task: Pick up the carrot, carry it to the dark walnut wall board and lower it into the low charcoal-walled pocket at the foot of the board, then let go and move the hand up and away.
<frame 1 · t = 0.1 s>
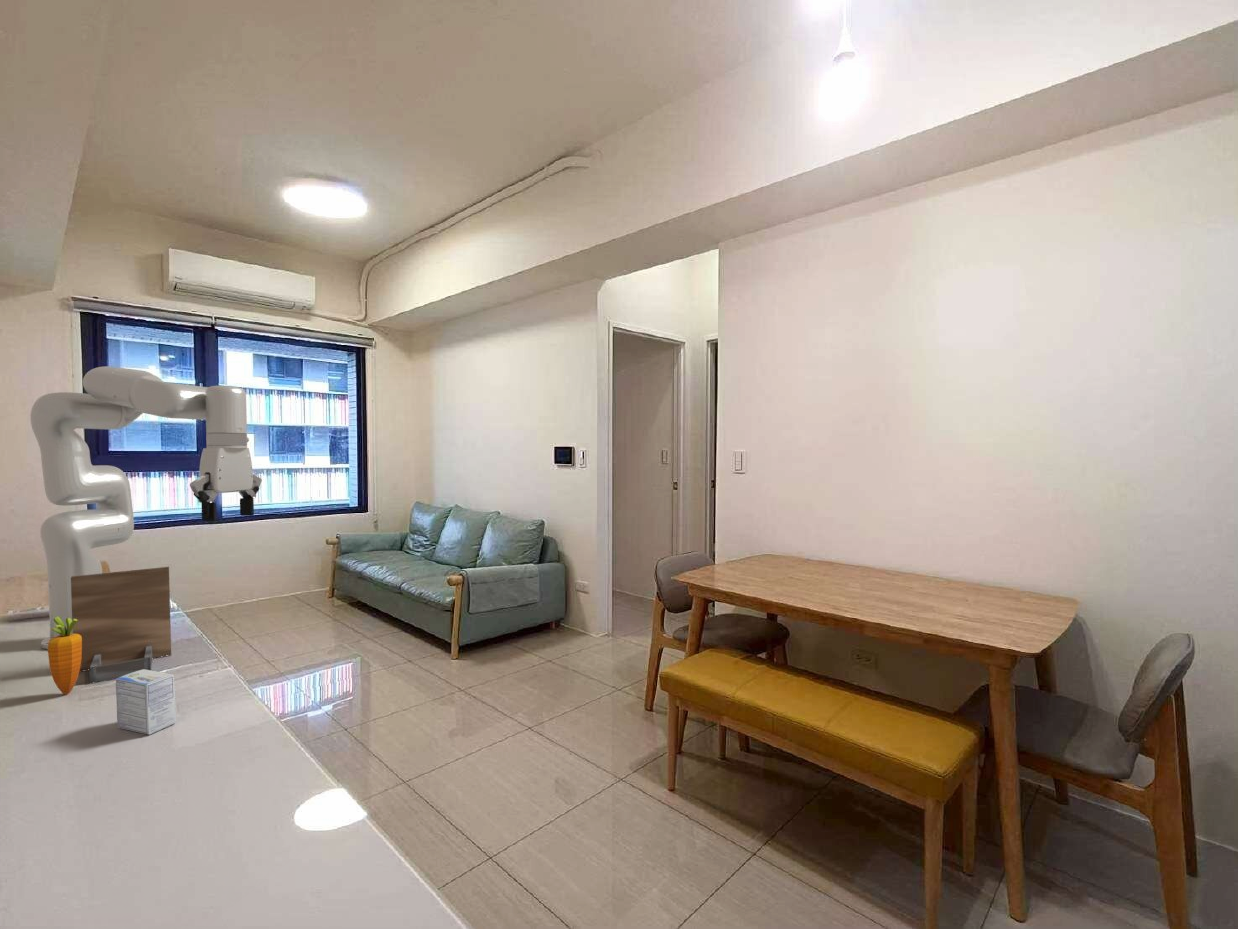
hand: (228, 518, 128), 31 cm above the kitchen counter, tool pointing down, fingers open, 9 cm apart
wall holder: (122, 670, 120), on the kitchen counter
medicine box: (146, 727, 96), on the kitchen counter
stone cup: (96, 615, 161), on the kitchen counter
carrot: (66, 695, 109), on the kitchen counter
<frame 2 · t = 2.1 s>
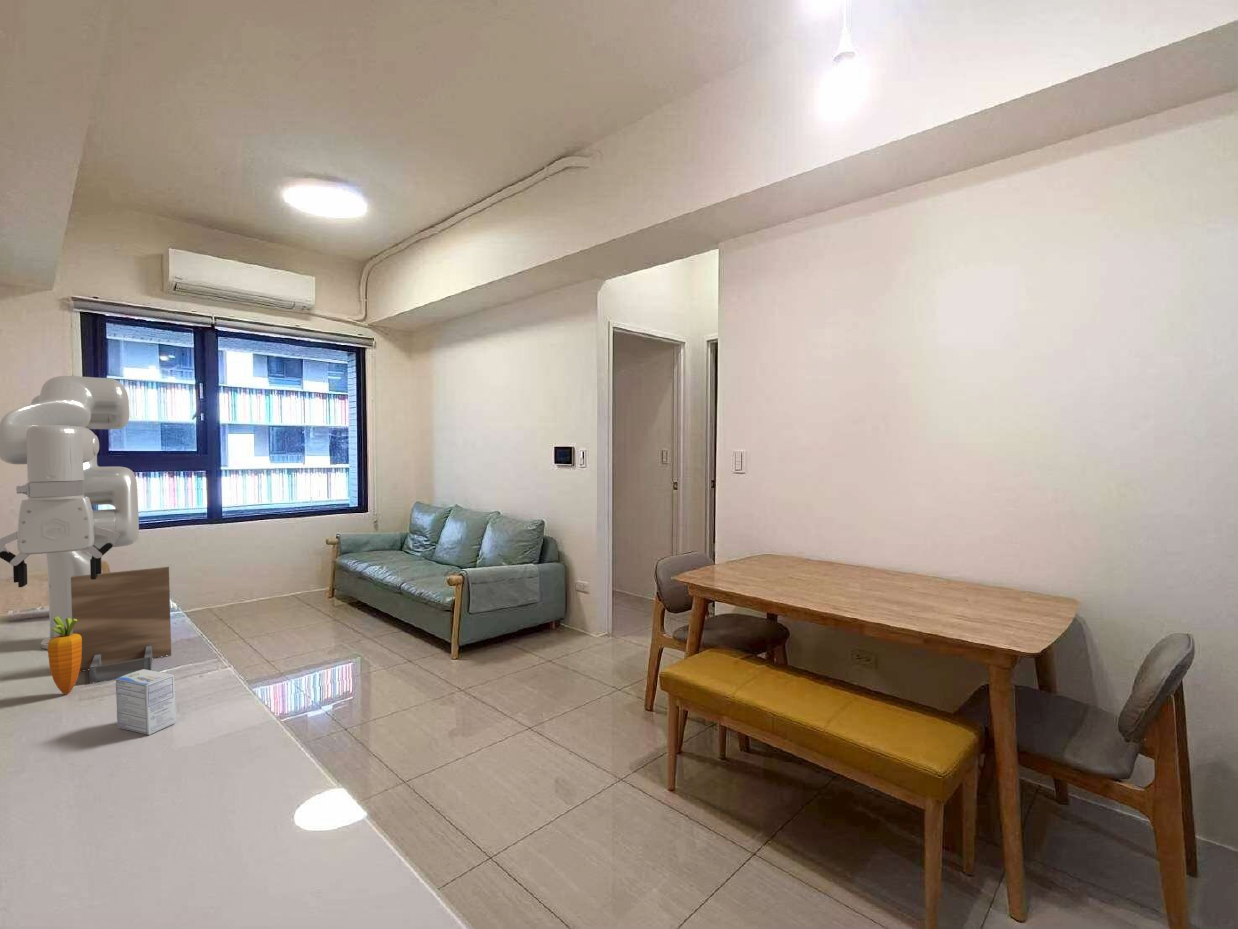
hand: (59, 582, 107), 22 cm above the kitchen counter, tool pointing down, fingers open, 9 cm apart
nothing on the kitchen counter moved.
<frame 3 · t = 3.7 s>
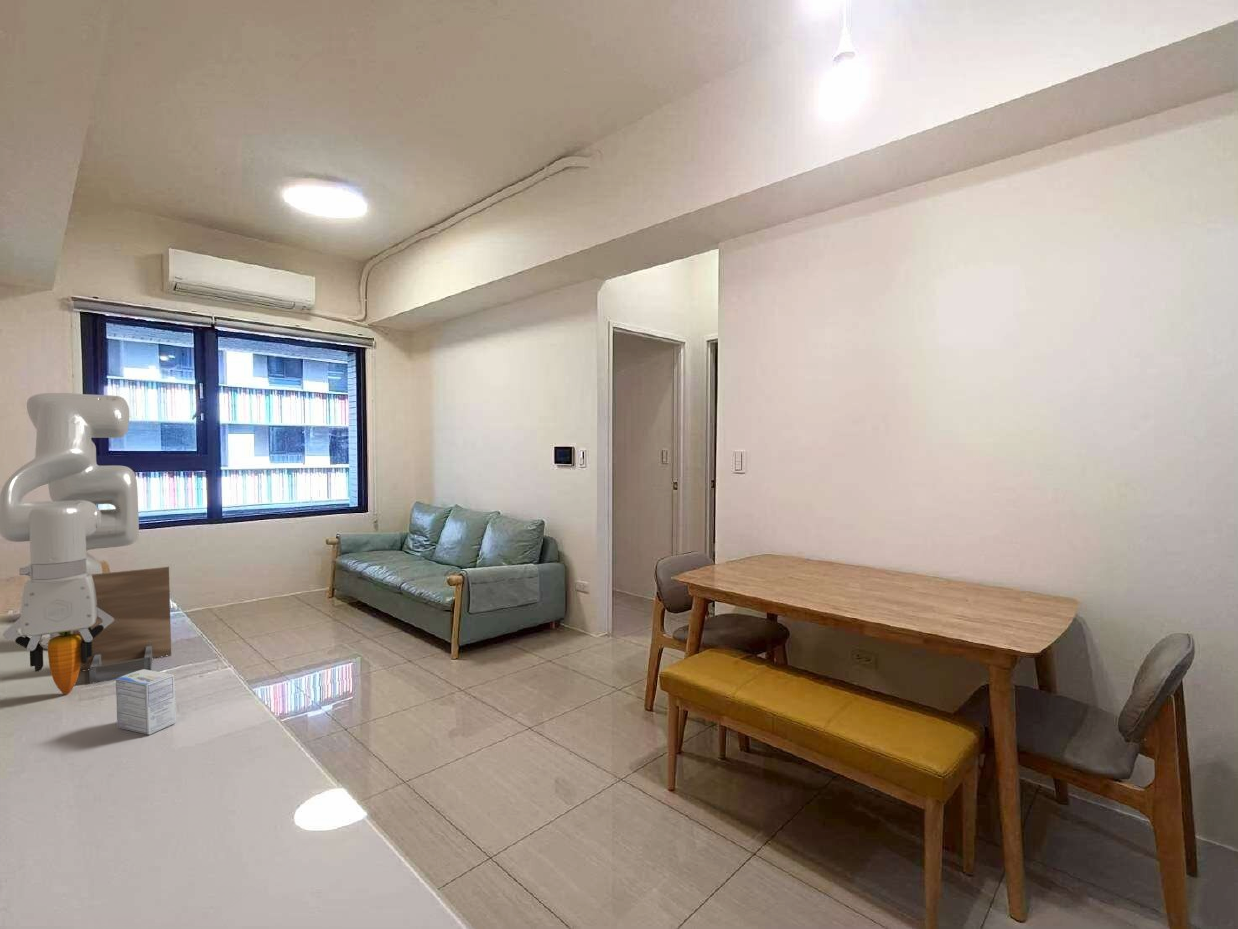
hand: (62, 664, 108), 6 cm above the kitchen counter, tool pointing down, fingers open, 5 cm apart
carrot: (66, 695, 109), on the kitchen counter, touching gripper
everything else where it was.
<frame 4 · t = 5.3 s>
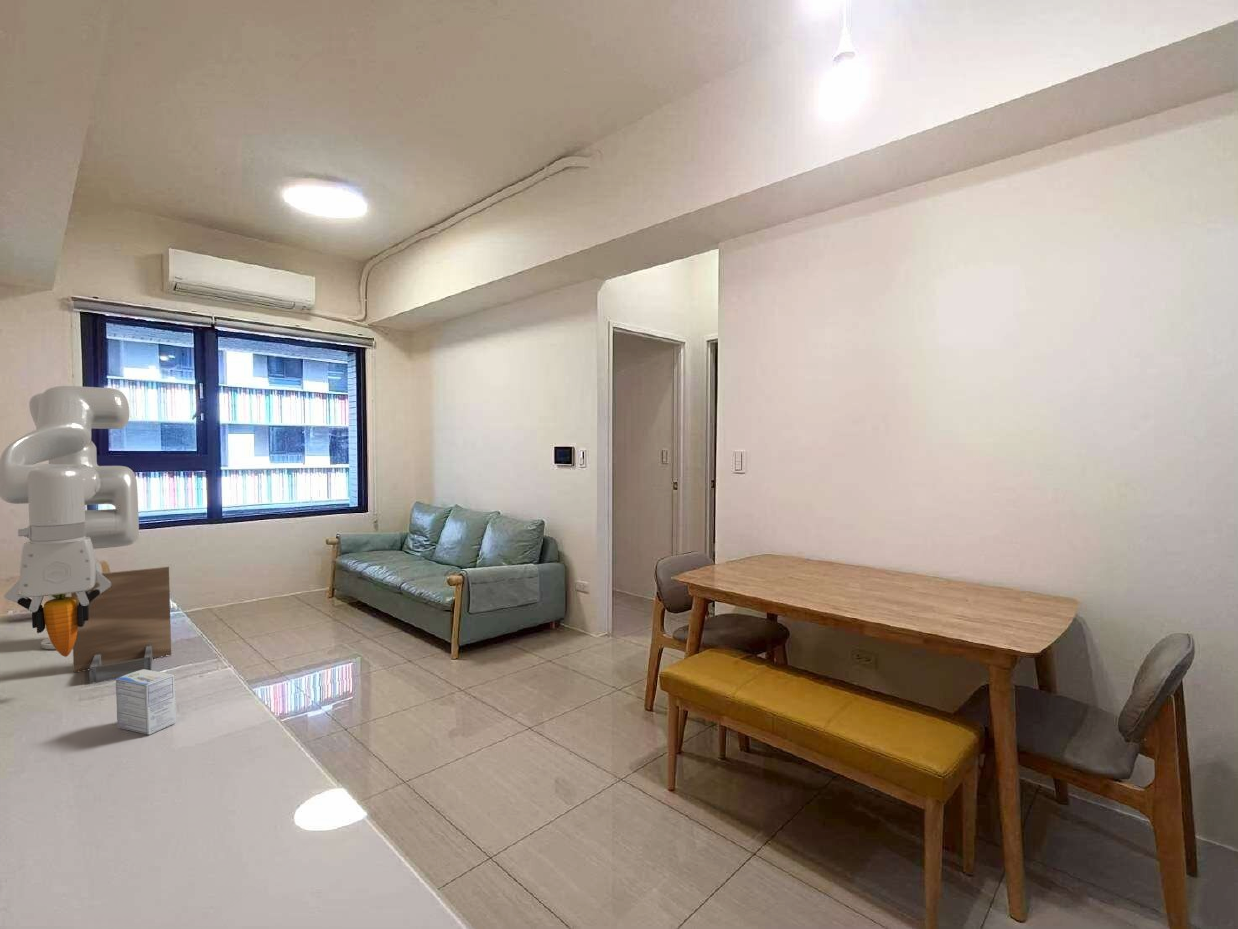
hand: (61, 626, 108), 13 cm above the kitchen counter, tool pointing down, fingers closed on carrot, 4 cm apart
carrot: (66, 657, 109), point 7 cm above the kitchen counter, touching gripper
everything else where it was.
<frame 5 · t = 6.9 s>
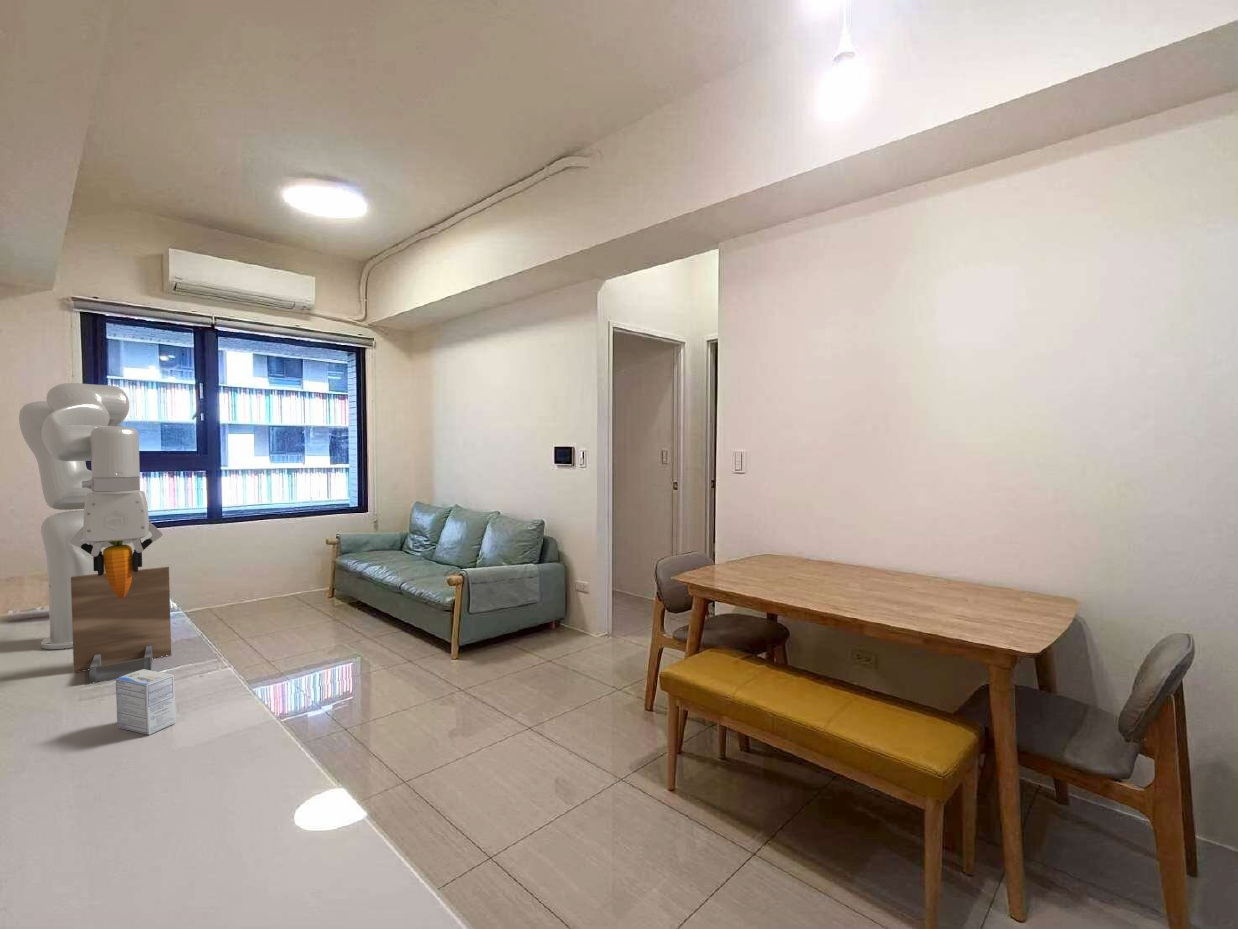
hand: (118, 571, 119), 21 cm above the kitchen counter, tool pointing down, fingers closed on carrot, 4 cm apart
carrot: (122, 599, 120), point 15 cm above the kitchen counter, touching gripper
everything else where it was.
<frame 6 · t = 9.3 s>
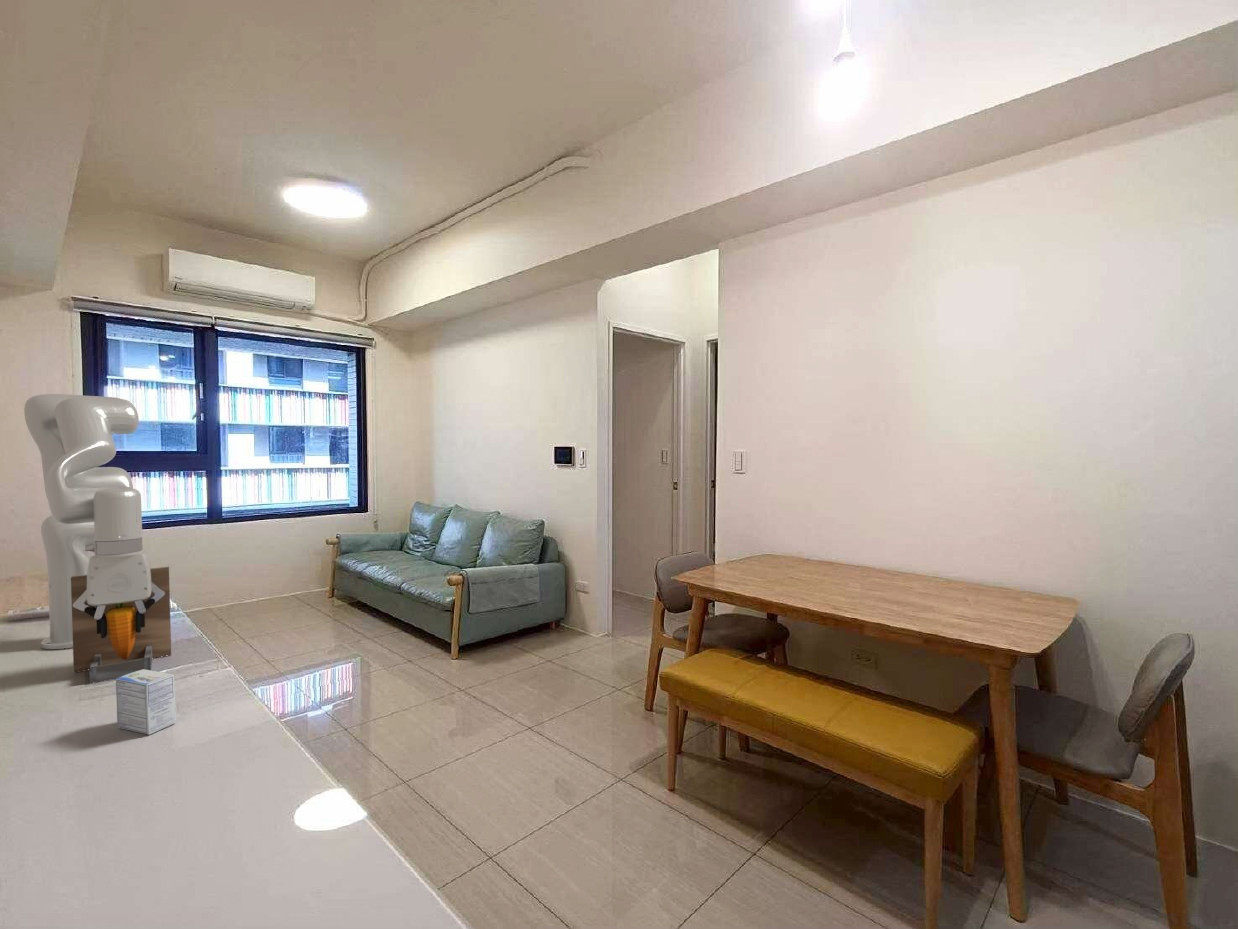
hand: (121, 632, 120), 8 cm above the kitchen counter, tool pointing down, fingers closed on carrot, 4 cm apart
carrot: (125, 660, 121), point 2 cm above the kitchen counter, touching gripper
everything else where it was.
when the fingers open (7 cm above the kitchen counter, at t = 9.9 s): carrot drops 1 cm, resting in wall holder.
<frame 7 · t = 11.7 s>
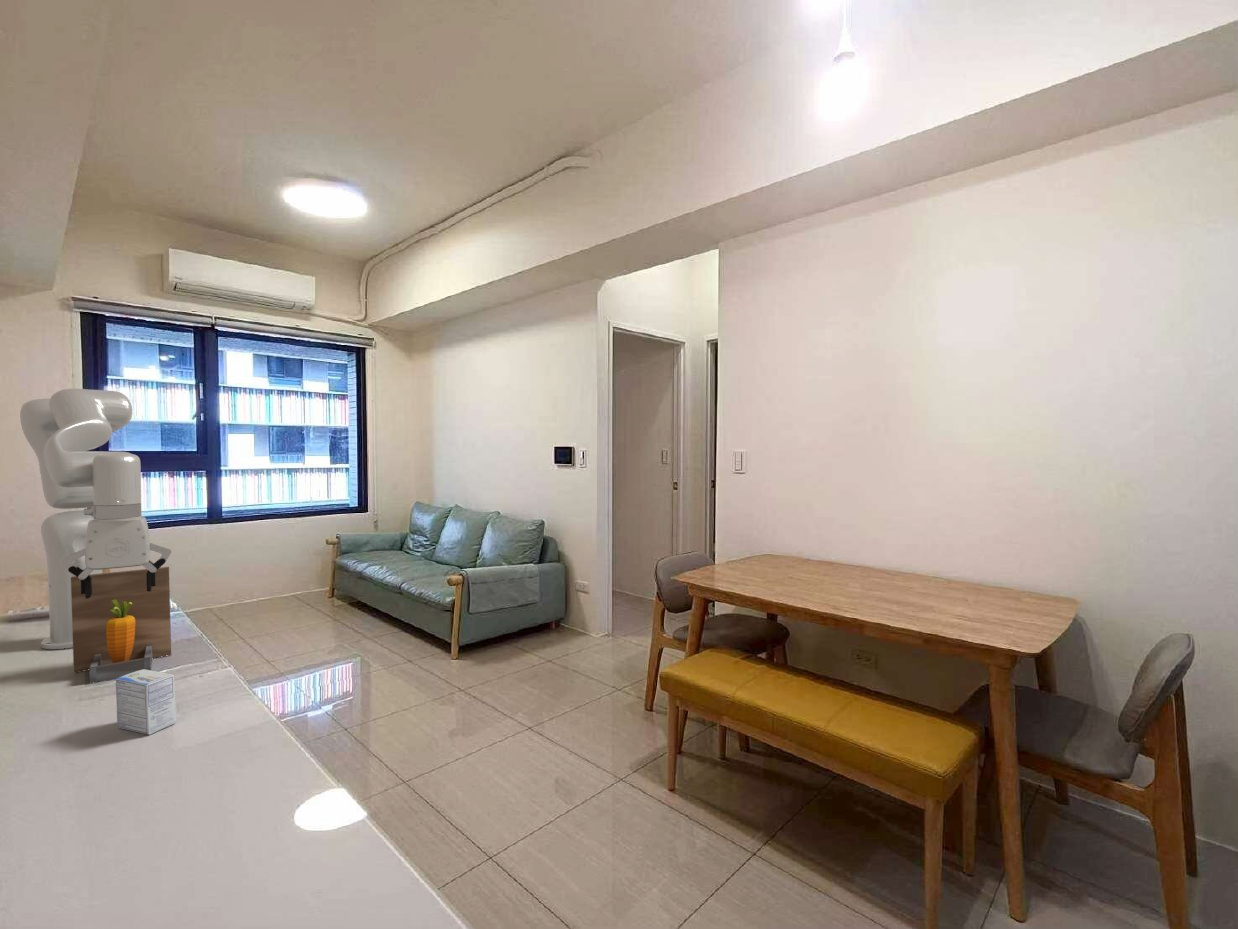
hand: (119, 593, 120), 16 cm above the kitchen counter, tool pointing down, fingers open, 9 cm apart
carrot: (120, 671, 120), resting in wall holder
everything else where it was.
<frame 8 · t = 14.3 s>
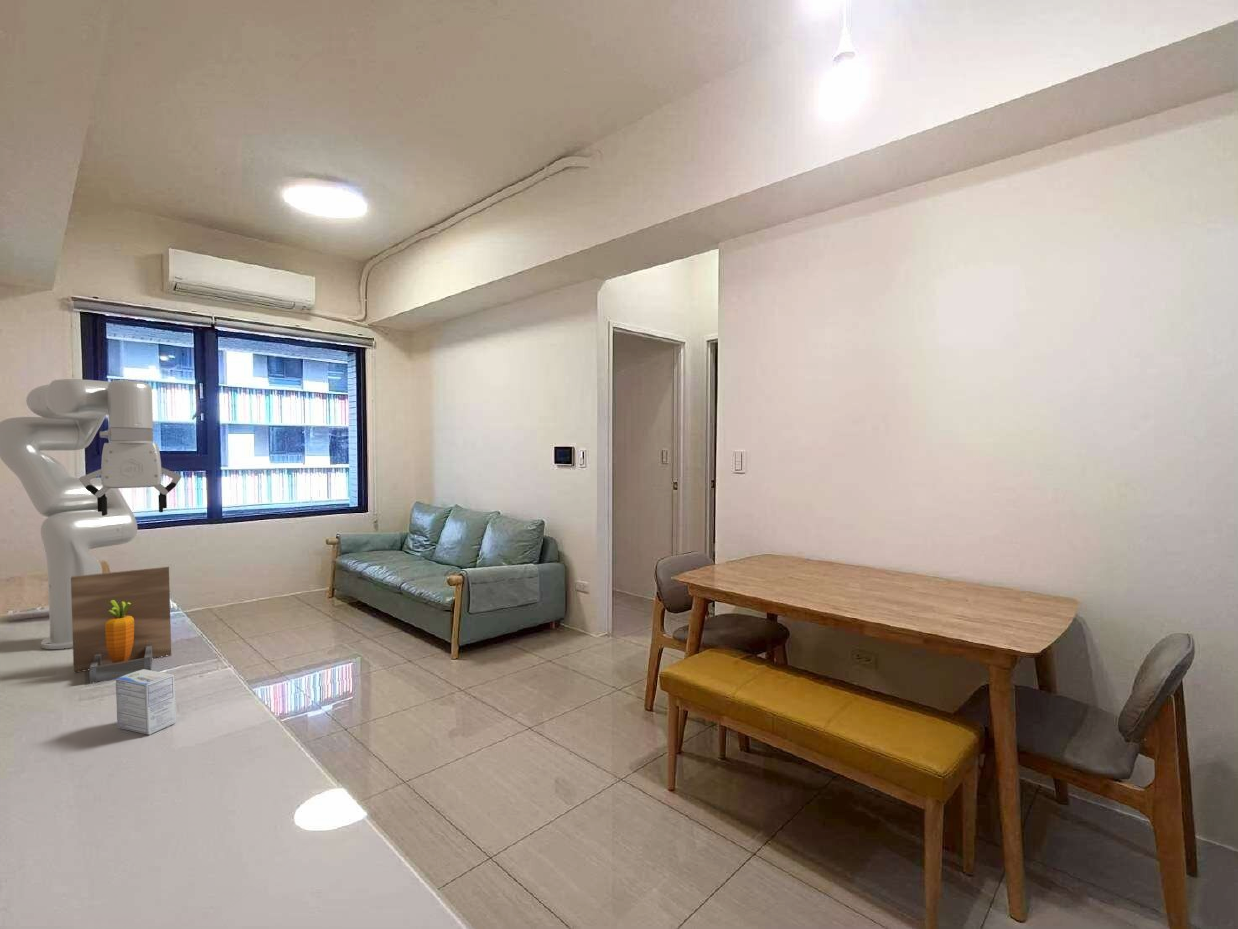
hand: (133, 513, 128), 32 cm above the kitchen counter, tool pointing down, fingers open, 9 cm apart
nothing on the kitchen counter moved.
at the end: carrot inside the target area on the wall holder (0.4 cm from its centre), point 0.0 cm above the wall holder's base; the gripper is holding nothing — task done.
